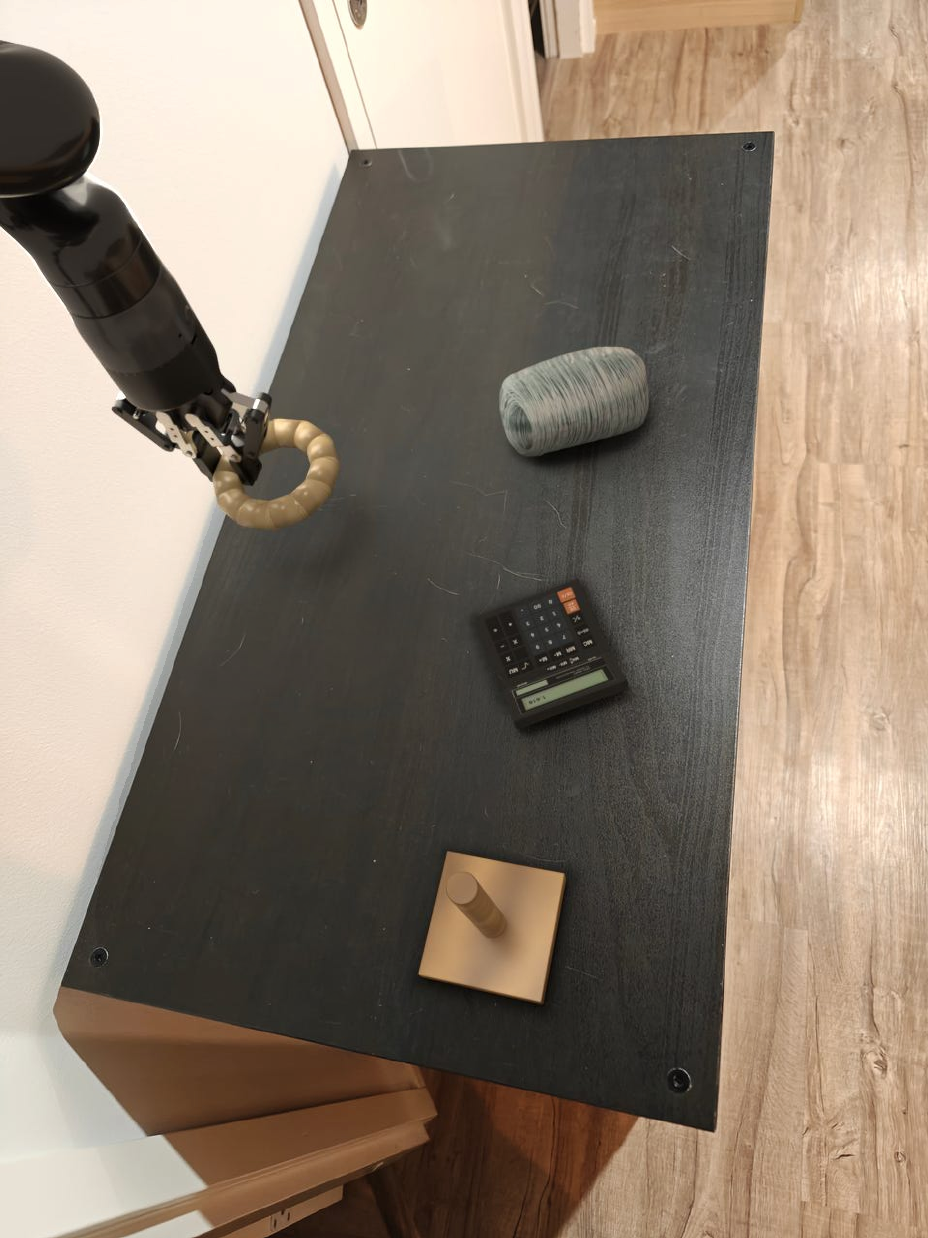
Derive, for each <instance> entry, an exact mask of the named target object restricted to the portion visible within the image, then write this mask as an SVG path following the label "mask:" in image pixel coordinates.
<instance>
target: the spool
mask: <svg viewBox="0 0 928 1238" xmlns="http://www.w3.org/2000/svg"><path fill="white" fill-rule="evenodd" d="M649 405H650V400H649V385H648V376H647V370H646V365H645V364H644V361H643V359H642V358H641V357H640V356H639V355H638V354H637V353H635V352H634V351H633V350H632V349H631V348H626V347H622V346H612V345H611V346H610V345H609V346H595V347H590V348H586V349H581V350H575V351H571V352H567V353H564V354H560V355H557V356H554V357H552V358H549V359H546V360H542V361H539V362H538V363H535V364H533V365H530V366H527V367H525V368H522V369H521V370H518V371H517V372H514V373H513V372H512V373H511V374H510V375H508V376H507V377H506V378H505V379H504V380H503V382H502V384H501V386H500V390H499V395H498V408H499V416H500V421H501V425H502V428H503V430H504V433H505V436H506V438H507V440H508V443H509V444H510V445H511V446H512V448H513V449H515V451H516V452H517V453H518V454H519V455H521V456H523V457H525V458H526V457H542V456H543V455H544V454H547V453H551V452H557V451H560V450H562V449H568V448H572V447H576V446H580V445H583V444H586V443H593V442H596V441H600V440H604V439H609V438H612V437H614V436H618V435H623V434H626V433H629V432H631V431H634V430H635V429H637V428H640V426H642V425H643V424H644V422H645V419H646V417H647V414H648V411H649Z"/></svg>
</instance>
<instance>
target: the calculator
mask: <svg viewBox="0 0 928 1238" xmlns="http://www.w3.org/2000/svg"><path fill="white" fill-rule="evenodd" d="M475 620H476V622H477V625H478V629H479V631H480V634H481V637H482V639H483V642H484V644H485V647H486V650H487V652H488V656H489V658H490V661H491V663H492V666H493V669H494V671H495V674H496V677H497V680H498V682H499V686H500V688H501V691H502V693H503V696H504V699H505V701H506V704H507V707H508V710H509V713H510V716H511V718H512V720H513V724H514V726H515V728H516V730H519V729H522V728H525V727H528V726H530V725H534V724H536V723H538V722H541V721H544V720H547V719H549V718H553V717H554V716H558V715H560V714H563V713H566V712H568V711H571V710H573V709H576V708H577V709H578V708H579V707H582V706H585V705H587V704H591V703H593V702H596V701H599V700H601V699H604V698H607V697H609V696H612V695H615V694H618V693H621V692H623V691H626V690H629V689H630V686H629V682H628V679H627V677H626V675H625V674H624V672H623V671H622V669H621V667H620V666H619V664H618V662H617V660H616V659H615V656H614V655H613V653H612V652H611V650H610V647H609V645H608V643H607V641H606V638H605V636H604V634H603V631H602V630H601V628H600V625H599V623H598V621H597V618H596V616H595V614H594V611H593V609H592V607H591V605H590V603H589V600H588V598H587V596H586V594H585V591H584V589H583V586H582V584H581V583H580V580H579V578H576V579H574V580H571V581H568V582H566V583H563V584H560V585H557V586H555V587H552V588H549V589H547V590H544V591H541V592H537V593H535V594H533V595H531V596H527V597H525V598H522V599H519V600H517V601H513V602H511V603H508V604H506V605H503V606H500V607H497V608H495V609H491V610H489V611H487V612H484V613H481V614H479V615H475Z"/></svg>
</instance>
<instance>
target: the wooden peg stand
mask: <svg viewBox="0 0 928 1238" xmlns="http://www.w3.org/2000/svg"><path fill="white" fill-rule="evenodd" d="M439 880H440V881H439V885H438V889H437V892H436V896H435V897H436V898H435V901H434V906H433V909H432V915H431V919H430V922H429V927H428V931H427V936H426V940H425V943H424V947H423V953H422V956H421V961H420V965H419V970H418V975H419V976H420V977H422V978H425V979H428V980H432V981H437V982H441V983H446V984H450V985H455V986H459V987H463V988H467V989H472V990H476V991H480V992H485V993H488V994H489V993H490V994H494V995H498V996H502V997H506V998H510V999H515V1000H518V1001H519V1000H520V1001H525V1002H529V1003H531V1004H532V1003H533V1004H537V1005H542V1006H543V1005H544V1004H545V1000H546V994H547V988H548V983H549V977H550V971H551V966H552V965H551V964H552V960H553V955H554V949H555V944H556V937H557V931H558V927H559V922H560V917H561V910H562V906H563V905H562V904H563V898H564V892H565V889H566V882H567V877H566V874H565V873H564V872H559V871H553V870H548V869H542V868H538V867H533V866H527V865H522V864H517V863H511V862H507V861H502V860H496V859H491V858H486V857H481V856H475V855H471V854H470V855H469V854H465V853H460V852H454V851H448V850H447V851H446V855H445V859H444V863H443V868H442V872H441V876H440V879H439Z"/></svg>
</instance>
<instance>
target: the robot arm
mask: <svg viewBox="0 0 928 1238" xmlns="http://www.w3.org/2000/svg"><path fill="white" fill-rule="evenodd" d="M102 138H103V122H102V115H101V112H100V108H99V105H98V102H97V100H96V97H95V95H94V94H93V92H92V90H91V88H90V87H89V85H88V84H87V82H86V81H85V80H84V79H83V78H82V77H81V75H80V74H79V73H78V72H77V71H76V70H75V69H74V68H73V67H71V66H70V65H69V64H68V63H66V62H65V61H64V60H63V59H61V58H59V57H58V56H56V55H54V54H51V53H50V52H48V51H45V50H42V49H40V48H37V47H33V46H29V45H25V44H19V43H15V42H10V41H6V40H3V39H0V229H1V230H2V231H3V232H4V233H5V234H7V235H8V236H9V237H10V238H11V239H12V240H13V241H14V242H16V243H17V244H18V245H19V247H20V248H21V249H23V250H24V252H25V253H26V254H27V255H28V257H29V258H30V259H31V261H32V262H33V264H34V265H35V267H36V269H37V270H38V272H39V273H40V275H41V276H42V278H43V279H44V281H45V282H46V284H47V285H48V286H49V287H50V289H51V290H52V292H53V293H54V295H55V296H56V297H57V299H59V301H60V303H61V304H62V305H63V306H64V308H65V310H66V312H67V313H68V314H69V317H70V318H71V321H72V323H73V324H74V326H75V328H76V330H77V331H78V334H79V335H80V336H81V338H82V339H83V341H84V343H86V345H87V346H88V348H89V350H91V352H92V353H93V355H94V356H95V357H96V359H97V360H98V362H99V363H100V364H101V366H102V367H103V369H104V370H105V371H106V373H107V374H108V376H109V377H110V378H111V380H112V381H113V383H114V384H115V385H116V386H117V388H118V389H119V393H118V394H117V396H116V399H115V400H114V403H113V405H112V407H111V411H112V412H113V413H114V415H116V416H118V417H119V418H121V420H123V421H124V422H126V423H127V424H128V425H130V426H131V427H132V428H133V429H135V430H136V431H138V432H139V433H140V434H142V436H144V437H145V438H147V439H148V440H150V441H151V442H153V443H154V444H155V445H156V446H158V447H159V448H160V449H162V450H164V451H165V452H168V453H173V452H174V451H175V449H176V450H179V451H181V453H182V454H183V455H184V456H185V457H186V458H189V459H191V460H192V461H193V462H194V464H195V465H196V467H197V468H198V470H199V471H200V473H201V474H203V476H205V477H206V478H207V480H208V481H209V482H211V483H213V474H214V472H215V470H216V467H217V465H218V462H219V460H220V458H221V455H222V453H224V454H225V455H226V456H227V457H228V459H229V463H230V464H231V466H232V468H233V469H234V471H235V472H236V474H237V475H238V477H239V478H240V480H241V481H242V483H243V486H248V487H249V486H250V487H253V486H254V485H255V484H256V482H257V481H258V479H259V476H260V473H261V471H262V468H263V463H262V461H261V460H260V457H259V458H258V456H259V453H260V449H261V447H262V444H263V442H264V439H265V438H266V436H267V432H268V425H269V421H270V419H271V418H270V417H271V409H272V403H273V398H272V396H271V395H270V394H269V393H266V392H265V391H258V392H257V393H256V395H255V398H254V397H251V396H248V395H246V394H244V393H239V392H237V388H236V386H235V384H234V383H233V382H232V381H231V380H229V379H228V378H227V377H225V375H224V374H223V373H222V372H221V368H220V362H219V358H218V354H217V351H216V349H215V346H214V344H213V343H212V341H211V339H210V337H209V336H208V334H207V332H206V330H205V328H204V326H203V325H202V323H201V321H200V319H199V318H198V316H197V314H196V313H195V311H194V309H193V307H192V306H191V304H190V302H189V300H188V298H187V297H186V295H185V293H184V292H183V290H182V288H181V286H180V284H179V283H178V281H177V279H176V278H175V277H174V275H173V274H172V272H171V271H170V270H169V268H168V267H167V266H166V265H165V263H164V262H163V261H162V259H161V258H160V256H159V255H158V254H157V252H156V250H155V248H154V246H153V245H152V242H151V241H150V239H149V237H148V235H146V232H145V230H144V228H143V227H142V225H141V224H140V221H139V220H138V218H137V216H136V215H135V213H134V212H133V210H132V209H131V207H130V206H129V204H128V203H127V202H126V200H125V199H124V197H123V196H122V195H121V194H120V193H119V192H118V191H117V190H116V189H115V188H114V187H112V186H111V185H109V184H108V183H106V182H104V181H103V180H100V179H99V178H97V177H95V176H94V175H92V174H90V173H89V172H88V171H89V169H90V168H91V167H92V166H93V164H94V162H95V161H96V159H97V158H98V157H97V156H98V154H99V151H100V148H101V144H102ZM157 423H160V424H162V425H163V427H164V429H165V431H164V433H162V432H161V431H160V430H159V429H158V428H157V427H156V425H157ZM219 449H220V450H221V451H220V450H219ZM221 452H222V453H221Z"/></svg>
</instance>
